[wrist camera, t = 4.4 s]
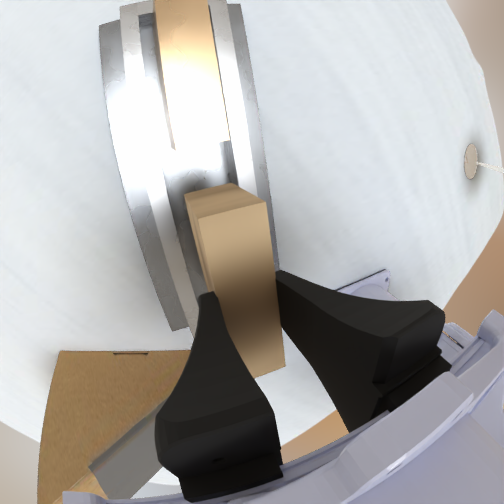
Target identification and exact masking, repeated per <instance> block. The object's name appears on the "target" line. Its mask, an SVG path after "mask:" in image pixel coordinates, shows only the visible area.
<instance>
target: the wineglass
mask: <svg viewBox="0 0 504 504" xmlns="http://www.w3.org/2000/svg"><path fill="white" fill-rule="evenodd" d="M478 165H480V166H483V167H486V168H489V169H492V170H495V171H498V172H500V173H503V174H504V168H502V167H498V166H494V165H489V164H485V163H481V162H478V154H477V150H476V147H475V146H474V145H473V144H470V145H469V146H468V147H467V150H466V153H465V160H464V167H465V173H466V176H467V177H468V179H472V178H473V177H474V176H475V173H476V171H477V166H478Z"/></svg>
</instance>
